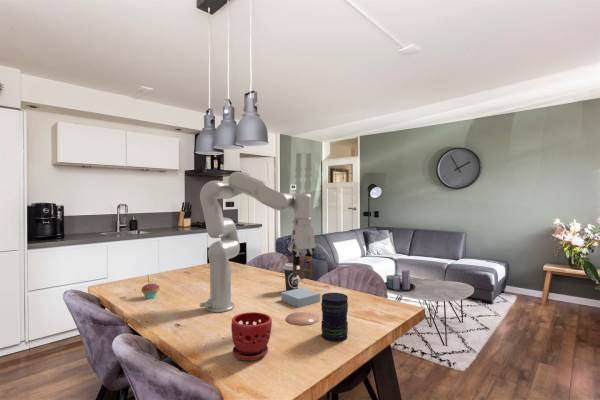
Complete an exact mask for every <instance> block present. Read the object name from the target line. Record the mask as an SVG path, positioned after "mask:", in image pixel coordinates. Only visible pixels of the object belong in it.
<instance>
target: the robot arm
mask: <svg viewBox="0 0 600 400" xmlns="http://www.w3.org/2000/svg"><path fill="white" fill-rule="evenodd" d="M242 194H244V195H246V196H249V197H251V198H253V199H255V200H256V201H258V202H259V203H261V204H262V205H265V206H267V207H269V208H271V209H273V210H276V211H279V212H284V211H285V212H286V211H293V220H292V222H291V223H292V224H293V225H292V229H291V235H290V237H291V238H290V244H289V245H288V246H287V250H288V251H289V252H290V253H291V255H292V263H294V265H296V266H300V262H299V256H300V255H299V254H300V251H303V250H305V255H304V256H309V257H312V255H313V252H314V251H315V249H316V248H317V244H316V242H315V241H316V240H315V229H314V226H313V224H312V196H311V194H309V193H296V194H295V193H286V192H280V191H277V190H275V189H272V188H270V187H268V185H266V184H265V182H264V181H263V180H262V179H258V178H256V177H254V176H253V175H252V174H250V173H248V172H244V171H234V172H232V173H231V174H229V177H228V180H227V181H224V180H210V181H208V182H206V183H205V184H204V185H203V186H202V188H201V190H200V193H199V199H200V204H201V209H202V211H203V217H204V222H205V227H206V231H207V235H208V237H210V238H212V239H220V240H217V241H214V242H213V243H212V244H211V245H209V247H208V251H207V256H208V260H209V261H208V262H209V298H208V299H207V300H206V301H205V302H204V301H203V302H200V303H199V308H203V307H204V309H206V310H207V311H208V312H212V313H222V312H224V313H225V312H229V311H231V310H233V309H234V308H235V303H233V302H232V269H231V264H230V261H229V260H230V259H233V258H235V257H237V256H238V255H239V253H240V250H241V246H240V241H239V236H238V230H237V225H236V224H235V222H234V220H233V219H231V218H229V217H224V215H223V210H222V206H221V203H220V202H219V201H218V200H220V199H221V200H226V199H229V200H230V199H232V198H235V197H237V196H240V195H242ZM305 264H308V262H305Z"/></svg>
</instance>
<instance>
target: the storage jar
mask: <svg viewBox="0 0 600 400" xmlns="http://www.w3.org/2000/svg"><path fill="white" fill-rule="evenodd" d="M320 308H321V313H322V316H321V318H322V319H321V323H320V324H321V326H320V327H321V329H320V330H321V338H322V339H323V340H324V341H327V342H329V343H330V342H331V343H339V342H340V343H341V342H344V341H346V340H348V334H349V333H348V331H349V327H348V326H349V324H348V312H349V311H348V310H349V309H348V308H349V301H348V295H346V294H345V293H340V292H327V293H323V294H322V295H321V307H320Z"/></svg>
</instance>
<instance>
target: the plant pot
mask: <svg viewBox="0 0 600 400" xmlns="http://www.w3.org/2000/svg"><path fill="white" fill-rule="evenodd" d="M272 319H273V318H272V316H270V315H268V314H266V313H262V312H243V313H239V314H236V315H234V316H233V317H232V319H231V325H230V327H231V328H230V329H231V337H232V338H231V339H232V343H233V348H232V354H233V355H234V356H235V358H237V359H239V360H241V361H247V362H248V361H256V360H259V359H261V358H264V357H265V356H266V355H267V354H268V351H269V347H268V344H269V341H270V338H271V333H272V327H273V325H272V323H273V320H272ZM240 322H242V323H240ZM247 322H248V323H247ZM254 322H255V324H254Z"/></svg>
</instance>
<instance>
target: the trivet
mask: <svg viewBox="0 0 600 400" xmlns="http://www.w3.org/2000/svg"><path fill="white" fill-rule="evenodd" d="M285 319H286V320H285V321H286V322H288V323H289V324H292V325H296V326H308V325H309V326H310V325H314V324H316V323H317V322H319V316H318V315H317V314H315V313H311V312H306V311H299V312H292V313H290V314H288V315H286V317H285Z"/></svg>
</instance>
